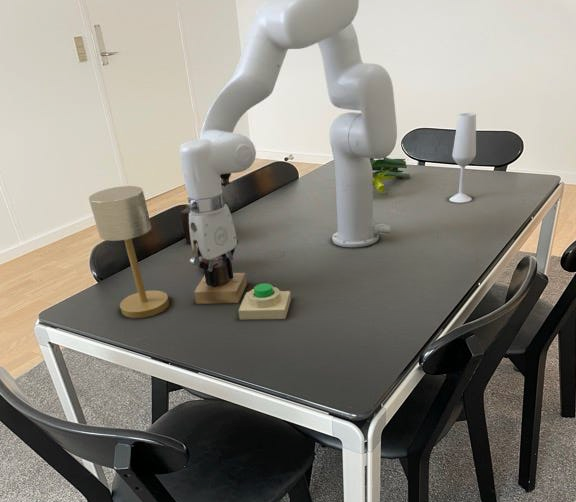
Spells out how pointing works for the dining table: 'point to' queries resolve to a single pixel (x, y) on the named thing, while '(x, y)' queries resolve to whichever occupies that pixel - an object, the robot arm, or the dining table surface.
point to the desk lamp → (128, 241)
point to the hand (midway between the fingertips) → (220, 280)
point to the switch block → (265, 305)
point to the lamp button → (263, 290)
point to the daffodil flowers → (387, 171)
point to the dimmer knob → (221, 272)
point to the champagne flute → (464, 149)
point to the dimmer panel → (221, 290)
